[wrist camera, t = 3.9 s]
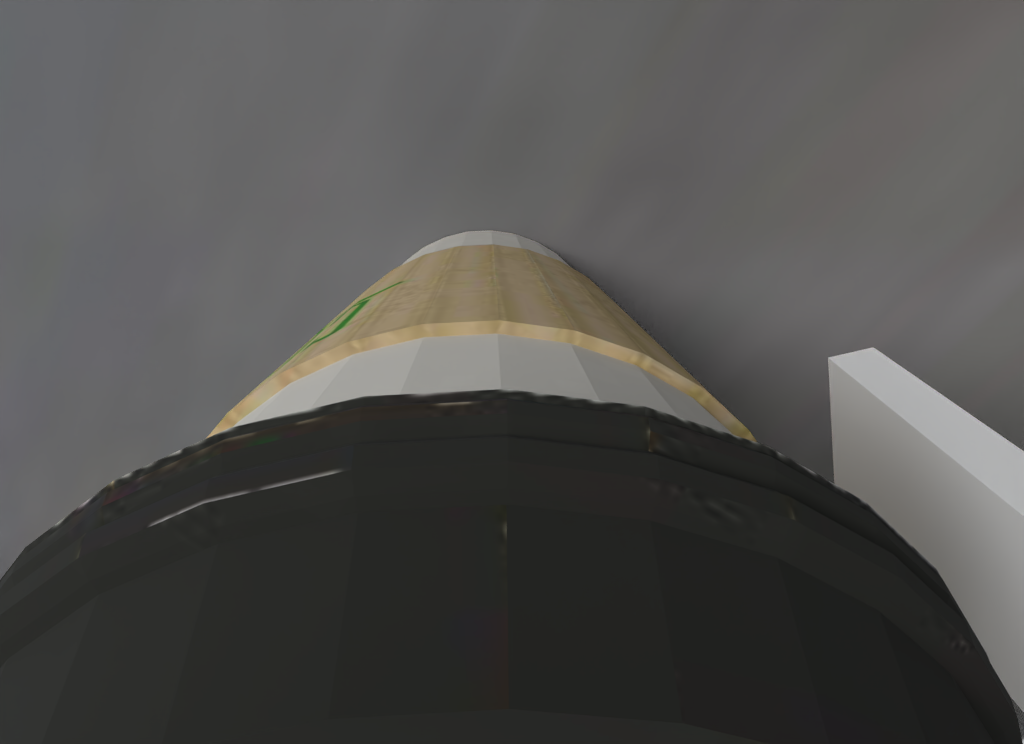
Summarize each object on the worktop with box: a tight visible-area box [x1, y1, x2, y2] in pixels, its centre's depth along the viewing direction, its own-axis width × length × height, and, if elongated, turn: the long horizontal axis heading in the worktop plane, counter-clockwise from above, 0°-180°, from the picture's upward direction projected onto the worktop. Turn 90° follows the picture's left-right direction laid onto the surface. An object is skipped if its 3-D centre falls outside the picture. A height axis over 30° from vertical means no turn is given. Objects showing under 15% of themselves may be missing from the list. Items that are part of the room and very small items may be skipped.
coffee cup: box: [0, 230, 1023, 744], centre depth 12 cm, size 10×10×15 cm
